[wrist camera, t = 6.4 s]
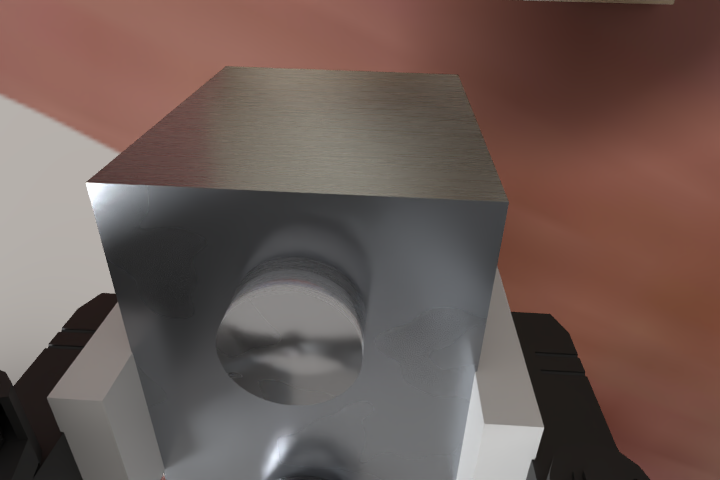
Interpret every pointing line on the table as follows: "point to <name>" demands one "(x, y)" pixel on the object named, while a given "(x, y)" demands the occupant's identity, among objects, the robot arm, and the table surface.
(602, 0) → the plinth
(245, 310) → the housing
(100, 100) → the table surface
